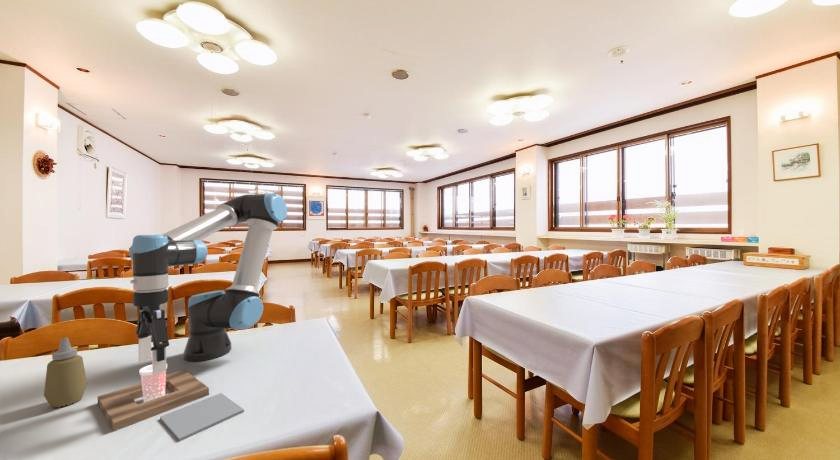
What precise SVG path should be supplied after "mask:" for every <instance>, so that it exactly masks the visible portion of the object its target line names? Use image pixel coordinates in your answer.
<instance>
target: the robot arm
mask: <svg viewBox="0 0 840 460" xmlns="http://www.w3.org/2000/svg"><path fill="white" fill-rule="evenodd" d="M287 216H288V207H287V204H286V201H285V200H284V199H283V197H282V196H281V195H279V194H276V193H268V192H267V193H261V194H259V193H258V194H256V193H255V194H244V195H240V196H237V197H236V196H235V197H234V198H232V199H230V200H228V201H225V202H223V203H220V204H218V205H217V206H216V208H215V210H211V211H209V212H208V213H205V214H203V215H201V216H199V217H197V218H195V219H193V220H191V221H189V222H187V223H184V224H182V225H179V226H178V227H176V228H173V229H171V230H169V231H167V232H165V233H163V234H137V235H135V236H134V237H133V239H132V244H131V245H130V247H129V251H128V253H129V257H130V259H131V260H132V279H131V280H129V281H130V284H132V288H133V291H134V293H132V305H133V306H134V307H137V308H138V316H137V317H138V318H137V324H136V332H135V334H136V335H137V338H138V362H139V363H141V362H145V361H148V360H152V351H153V374H158V373H161V372H164V371H166V372H167V369H166V364H167V347H169V346H170V342H169V335H168V331H167V330H168V329H167V324H166V323H167V322H166V317H165V316H166V314H165V312H166V311H165V309H161V307H160V305H162V304H163V305H164V304H166V303H168V302H169V290H168V289H167V288H169V267H174V266H176V267H177V266H183V265H184V266H185V265H195V264H199V263H203V262H204V261H205V260H206V259H207V257H208V252H209V251H208V246H207V245H206V243H205V242H204V241H202V240H203V239H206V238H208V237H209V236H211V235H214V234H215V233H217V232H219V231H221V230H223V229H224V228H227V227H233V226H235V225H238V224H241V223H247V226H248V230H247V233H246V236H245V239H244V244H243V246H242V250H241V253H240V257H239V260H238V264H237V267H236V270H235V273H234V278H233V281H232V284H231V286H229V287H227V288H226V289H225V290H222V289H221V290H213V291H207V292H203V293H198V294H194V295H191V296H190V297H189V299H188V301H187V302H188V303H187V304H188V305H187V317H188V333H189V334H188V339H187V341H186V345H185V348H184V350H183V359H184V360H185V359H186V360H185V361H187V360H188V362H203V361H207V360H208V361H209V360H212V359H216V358H220V357H222V356H225V355H226V353H227V354H228V353H230V352H231V351H232V342H231V339H230V337H229V335H228V332H227V329H231V330H248V329H250V328H252V327H253V326H254V325H256V324H257V323H258V322H259V321H260V319H261V317H262V315H263V311H264V304H263V300H262V299H261V298H260V295H261V294H260V292H259V290H258V286H259V283H260V278H261V275H262V271H263V266H264V263H265V259H266V256H267V253H268V247H269V245H270V240H271V236H272V232H274V231H275V230H277V229H278V225H279V223H281V222H284V221H285V220H286V219H287ZM152 345H153V346H152ZM230 350H231V351H230ZM229 351H230V352H229ZM224 354H225V355H224Z"/></svg>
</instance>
